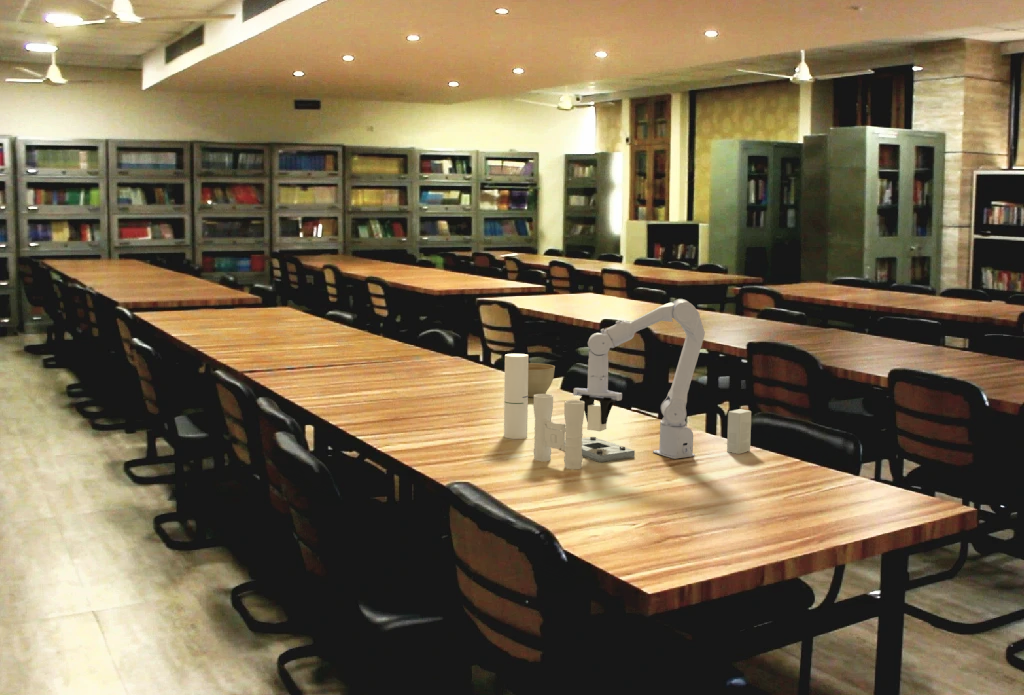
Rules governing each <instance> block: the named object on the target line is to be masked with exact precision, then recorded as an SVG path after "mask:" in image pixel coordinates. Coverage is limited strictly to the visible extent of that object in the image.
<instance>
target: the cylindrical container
mask: <svg viewBox="0 0 1024 695" xmlns="http://www.w3.org/2000/svg"><path fill="white" fill-rule="evenodd" d="M528 363H529V354H525V353H507V354H505V355H504V384H503V385H504V386H503V388H504V393H503V394H504V395H503V397H504V400H503V404H504V405H503V437H504V438H505V439H510V440H522V439H526V438H528V421H529V420H528V417H529V416H528V415H529V414H528V412H529V409H528V407H529V406H528V404H529V397H528Z"/></svg>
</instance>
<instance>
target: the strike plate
mask: <svg viewBox="0 0 1024 695" xmlns="http://www.w3.org/2000/svg"><path fill="white" fill-rule="evenodd" d="M635 452H636V450H634V449H631V448H628V447H626V446H622V445H619V444H616V443H613V442H609V441H607V440H603V439H601V438H598V437H597V436H590V437H582V458H583V457H584V458H587V459H589V460H591V461H595V462H598V463H606V462H614V461H620V460H626V459H627V460H628V459H632V458H635V456H636V455H635Z"/></svg>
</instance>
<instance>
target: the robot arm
mask: <svg viewBox="0 0 1024 695" xmlns="http://www.w3.org/2000/svg"><path fill="white" fill-rule="evenodd" d="M673 320H675V321H676V322H677V323H678V324H679V325H680V326H681V328H682V330H683V332H684V333H685V338H684V342H683V347H682V349H681V352H680V356H679V360H678V363H677V366H676V369H675V373H674V377H673V380H672V382H671V383H672V384H671V387H670V389H669V390H668V393H667V395H666V398H665V399H663V401H662V402H661V404H660V412H661V415H662V416H663V417H662V419H661V420H660V421H659V422H660V423H659V424H660V427H659V449H655V450H652V453H653V454H658V455H660V456H664V457H666V458H669V459H672V460H675V459H683V458H690V457H695V455H696V454H695V453H693V452H694V451H693V450H694V432H693V431H692V428H690V427H688V426H687V422H686V418H687V409H686V407H687V403H688V393H689V390H690V385H691V382H692V379H693V376H694V372H695V370H696V366H697V362H698V358H699V355H700V353H701V349H702V346H703V342H704V340H705V329H704V325H703V322H702V319H701V315H700V312H699V311H698V310H697V308H696V306H694V305H693V304H692V303H691V302H689V301H688V300H686V299H683V298H678V299H675V300H673V302H668V303H665V304H662V305H660V306H658V307H656V308H654V309H653V310H650V311H649V312H647V313H645V314H643V315H641V316H639V317H637V318H635V319H634V320H632V321H628V320H616V321H615V324H614V325H611V326H609V327H607V328H606V329H604V328H601V329H600V332H595V333H592V334H591V335H590V337H589V338H588V341H587V346H588V349H589V352H588V360H587V362H588V363H587V365H588V366H587V388H584V387H574V388H573V396H580V397H579V400H580V401H584V402H585V403H584V415H585V418H586V423H588V405H591V404H594V403H595V399H596V398H598V399H600V400H599V404H600V406H601V424H606V423H607V424H608V418H609V415H610V412H611V409H612V407H613V406H614V404H615V402H616V401H617V402H618V401H622V399H623V392H618V391H613V390H609V359H608V358H609V356H608V355H609V351H610V349H614V348H617V347H618V346H621V345H623V344H624V343H627V342H628V341H630V340H632V339H633V338H634V337H635V334H636V333H637V332H639V331H640V330H641V331H642V330H644V329H646V328H648V327H650V326H652V325H655V324H657V323H659V322H668V323H669V322H671V323H673ZM607 424H606V425H607Z"/></svg>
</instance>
